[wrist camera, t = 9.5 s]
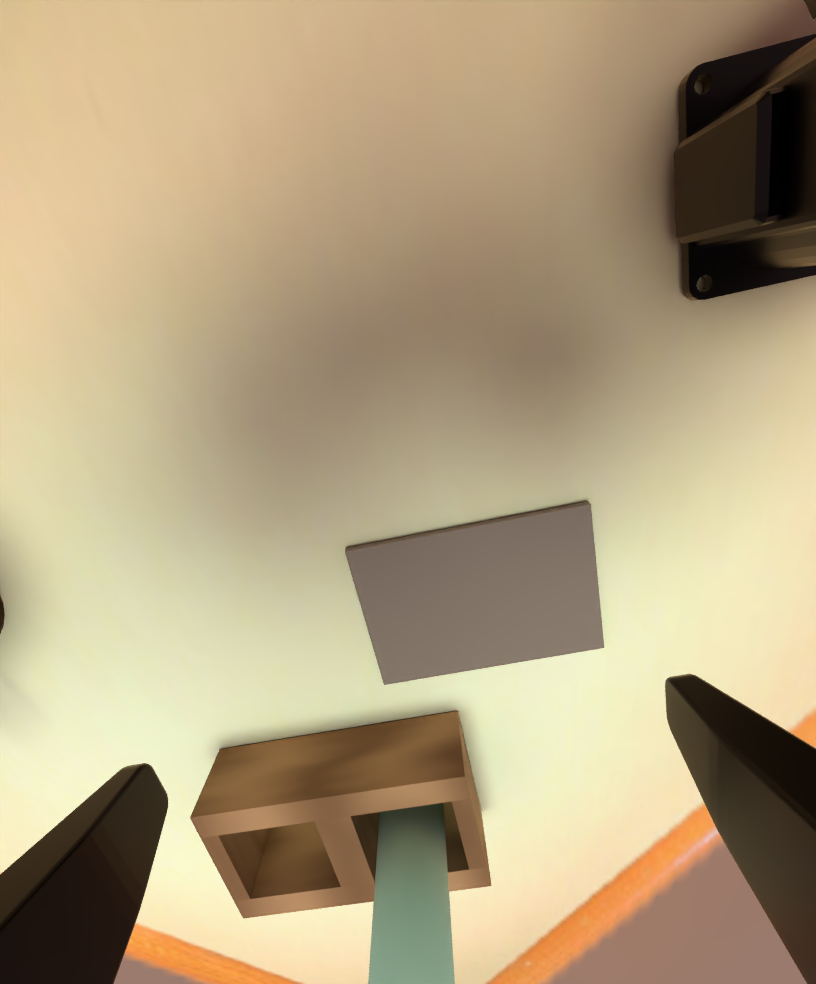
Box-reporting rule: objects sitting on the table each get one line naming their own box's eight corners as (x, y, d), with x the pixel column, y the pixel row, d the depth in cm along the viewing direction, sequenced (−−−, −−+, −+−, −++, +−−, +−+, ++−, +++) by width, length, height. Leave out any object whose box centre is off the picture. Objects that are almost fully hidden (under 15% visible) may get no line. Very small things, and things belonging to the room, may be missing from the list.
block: (457, 711, 23) (465, 776, 20) (481, 812, 26) (491, 885, 23) (220, 749, 24) (189, 817, 21) (263, 843, 27) (243, 918, 24)
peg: (435, 746, 24) (447, 979, 16) (446, 789, 25) (463, 1029, 17) (376, 755, 25) (356, 990, 16) (389, 797, 26) (378, 1038, 17)
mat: (588, 501, 20) (590, 504, 19) (601, 643, 22) (604, 647, 22) (346, 547, 20) (345, 551, 20) (384, 680, 23) (384, 684, 23)
